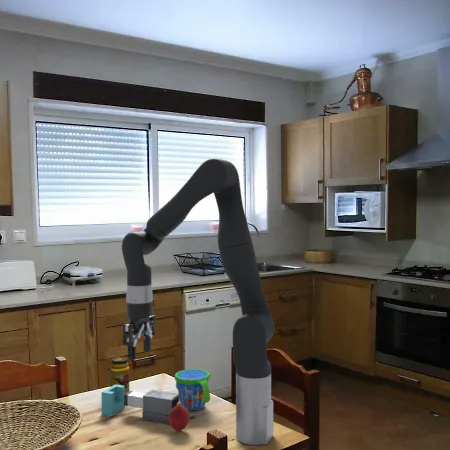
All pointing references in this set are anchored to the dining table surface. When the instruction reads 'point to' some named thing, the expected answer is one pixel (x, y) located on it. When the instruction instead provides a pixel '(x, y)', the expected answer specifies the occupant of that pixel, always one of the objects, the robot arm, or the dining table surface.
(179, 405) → the onion
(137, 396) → the slip tube
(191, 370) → the snack cup
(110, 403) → the socket
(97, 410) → the dining table surface
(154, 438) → the dining table surface
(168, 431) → the dining table surface
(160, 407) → the sleeve
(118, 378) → the condiment
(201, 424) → the dining table surface
